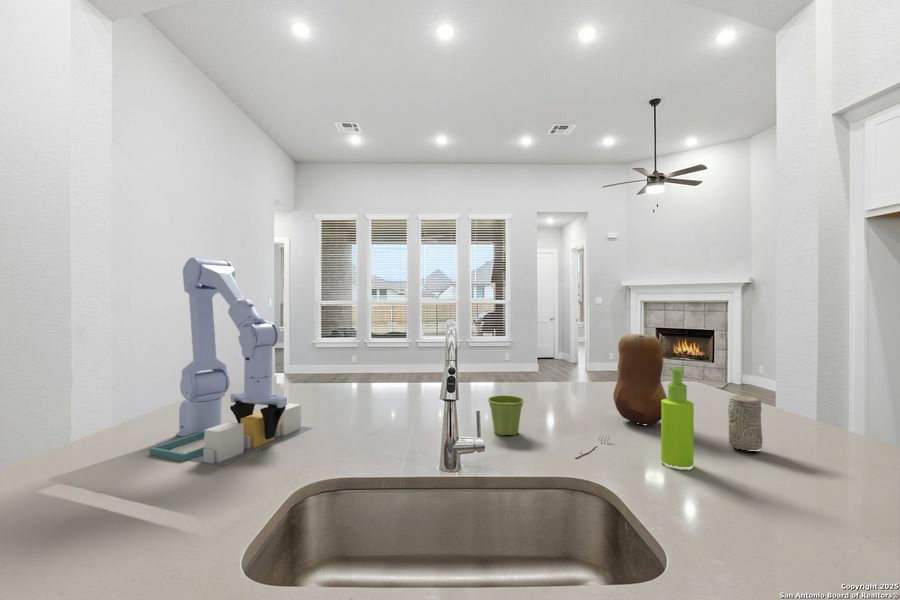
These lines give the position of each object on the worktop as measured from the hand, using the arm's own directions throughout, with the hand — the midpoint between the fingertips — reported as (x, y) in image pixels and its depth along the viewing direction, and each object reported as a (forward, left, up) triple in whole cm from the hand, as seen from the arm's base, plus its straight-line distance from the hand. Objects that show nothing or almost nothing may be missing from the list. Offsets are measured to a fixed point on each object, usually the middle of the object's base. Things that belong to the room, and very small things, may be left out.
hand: (257, 436), depth 96 cm
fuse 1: (0, -9, -1) cm, 9 cm away
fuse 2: (0, +9, -1) cm, 9 cm away
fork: (+71, +27, -3) cm, 76 cm away
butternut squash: (+83, +54, -3) cm, 99 cm away
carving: (+104, +39, -3) cm, 111 cm away
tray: (-10, -7, -3) cm, 13 cm away
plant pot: (+50, +32, -3) cm, 59 cm away
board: (0, 0, -3) cm, 3 cm away
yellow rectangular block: (0, 0, -1) cm, 1 cm away
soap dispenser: (+88, +24, -3) cm, 91 cm away
